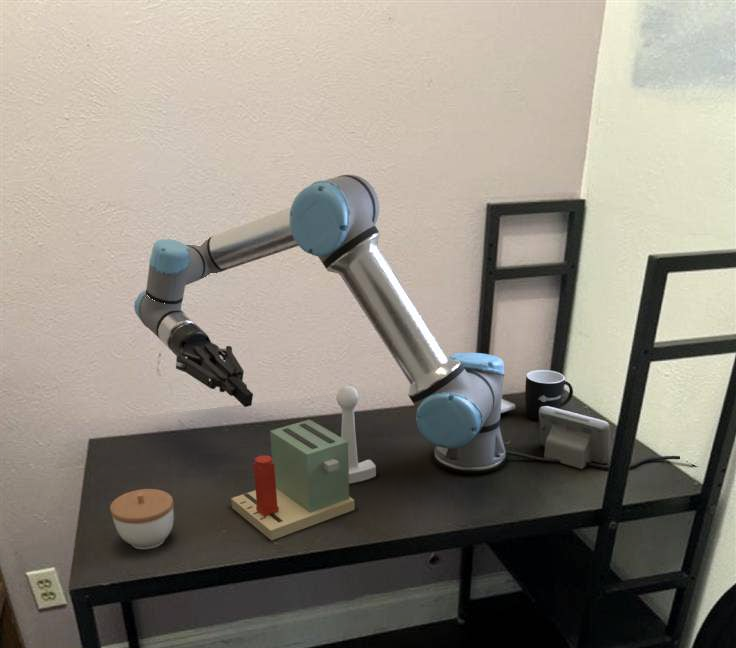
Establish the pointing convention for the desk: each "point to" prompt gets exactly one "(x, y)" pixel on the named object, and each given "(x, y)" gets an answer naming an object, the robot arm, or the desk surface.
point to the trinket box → (143, 517)
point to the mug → (544, 391)
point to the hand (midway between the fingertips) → (248, 400)
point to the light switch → (506, 406)
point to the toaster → (302, 480)
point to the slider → (265, 485)
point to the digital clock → (574, 437)
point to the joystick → (353, 436)
